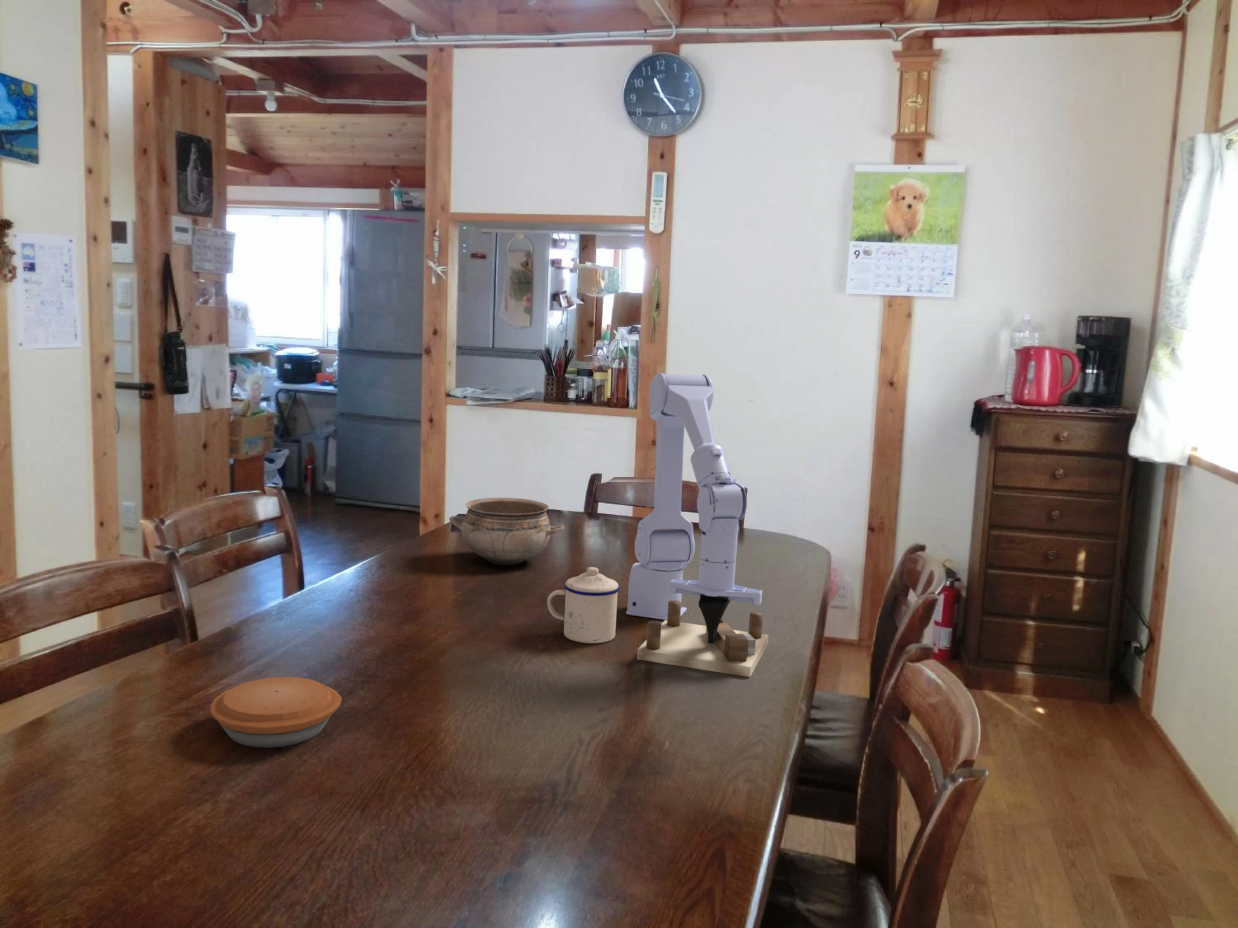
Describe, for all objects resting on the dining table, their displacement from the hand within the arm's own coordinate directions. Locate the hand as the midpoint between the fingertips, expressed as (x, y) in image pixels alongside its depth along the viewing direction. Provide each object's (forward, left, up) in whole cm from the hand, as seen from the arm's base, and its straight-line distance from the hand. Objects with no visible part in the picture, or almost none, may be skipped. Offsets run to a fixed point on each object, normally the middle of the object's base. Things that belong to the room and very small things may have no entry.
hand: (712, 641), depth 161 cm
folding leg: (+2, +1, -1) cm, 3 cm away
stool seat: (-2, +2, -3) cm, 4 cm away
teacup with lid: (-23, +1, -3) cm, 23 cm away
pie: (-45, -51, -3) cm, 68 cm away
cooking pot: (-54, +40, -3) cm, 67 cm away
